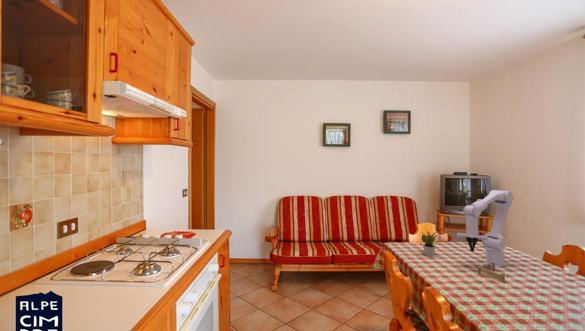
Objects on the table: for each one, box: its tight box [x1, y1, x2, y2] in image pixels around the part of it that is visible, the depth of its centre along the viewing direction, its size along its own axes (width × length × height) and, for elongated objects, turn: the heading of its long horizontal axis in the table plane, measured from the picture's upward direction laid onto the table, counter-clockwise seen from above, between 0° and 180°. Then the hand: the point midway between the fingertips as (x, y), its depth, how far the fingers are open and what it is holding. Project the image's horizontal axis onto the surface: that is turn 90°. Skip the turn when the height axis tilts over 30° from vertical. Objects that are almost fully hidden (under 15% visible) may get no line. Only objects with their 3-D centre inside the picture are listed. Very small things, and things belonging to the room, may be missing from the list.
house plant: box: [420, 230, 443, 258], centre depth 177 cm, size 14×14×16 cm
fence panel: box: [480, 263, 496, 272], centre depth 148 cm, size 11×2×4 cm, turn 113°
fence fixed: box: [477, 265, 506, 284], centre depth 140 cm, size 2×13×4 cm, turn 23°
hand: (472, 251), depth 154 cm, fingers closed
